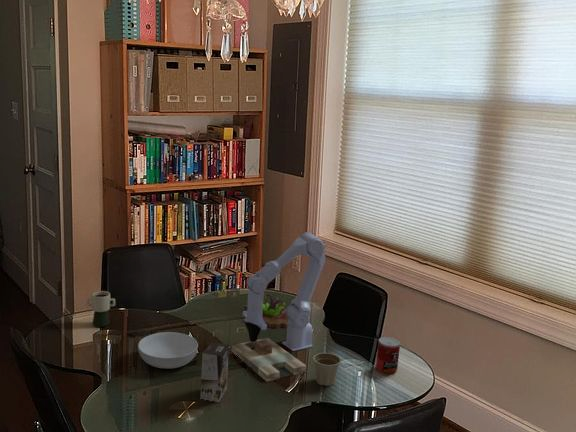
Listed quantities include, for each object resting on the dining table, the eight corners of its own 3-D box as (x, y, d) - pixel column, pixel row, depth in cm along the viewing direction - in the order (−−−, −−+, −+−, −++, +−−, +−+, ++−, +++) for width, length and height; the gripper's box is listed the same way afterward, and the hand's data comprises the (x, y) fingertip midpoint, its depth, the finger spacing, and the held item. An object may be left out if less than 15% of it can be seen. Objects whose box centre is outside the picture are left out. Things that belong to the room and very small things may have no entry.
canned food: (384, 375, 232) (387, 347, 230) (371, 366, 239) (374, 338, 236) (401, 372, 236) (404, 344, 233) (388, 363, 242) (391, 335, 240)
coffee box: (219, 403, 207) (221, 355, 203) (199, 399, 208) (201, 352, 204) (227, 389, 215) (229, 344, 212) (208, 386, 216) (210, 341, 213)
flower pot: (330, 391, 219) (332, 367, 217) (306, 383, 223) (308, 359, 221) (343, 381, 226) (345, 358, 224) (320, 373, 231) (321, 350, 229)
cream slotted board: (267, 343, 252) (267, 337, 251) (305, 372, 231) (306, 365, 230) (230, 351, 243) (230, 345, 243) (266, 381, 222) (267, 374, 222)
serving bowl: (125, 367, 226) (126, 349, 224) (157, 345, 245) (158, 327, 243) (179, 381, 219) (179, 362, 217) (207, 356, 238) (208, 339, 237)
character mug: (116, 321, 263) (116, 291, 260) (113, 328, 256) (114, 297, 253) (88, 321, 262) (88, 290, 259) (85, 328, 255) (85, 296, 252)
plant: (253, 308, 288) (254, 284, 286) (297, 314, 285) (299, 289, 282) (242, 325, 269) (243, 299, 267) (288, 331, 266) (290, 305, 263)
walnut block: (265, 348, 242) (265, 339, 241) (271, 353, 238) (272, 344, 238) (254, 350, 240) (255, 341, 239) (261, 355, 236) (261, 346, 235)
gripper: (236, 301, 245) (234, 335, 248) (255, 315, 234) (253, 350, 237) (252, 299, 249) (250, 332, 252) (272, 312, 237) (270, 347, 241)
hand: (253, 341), depth 245 cm, fingers closed
